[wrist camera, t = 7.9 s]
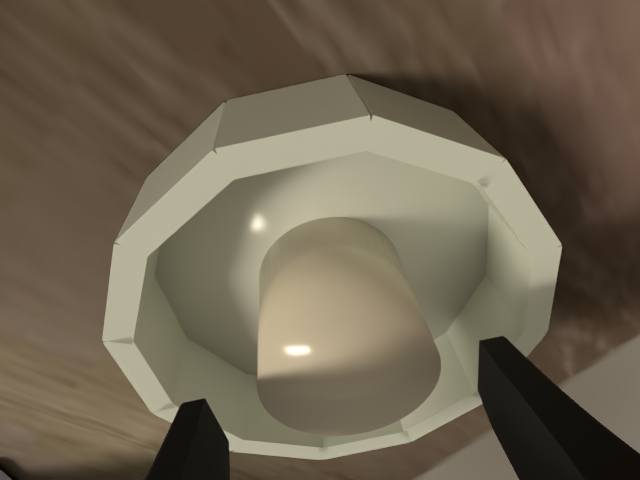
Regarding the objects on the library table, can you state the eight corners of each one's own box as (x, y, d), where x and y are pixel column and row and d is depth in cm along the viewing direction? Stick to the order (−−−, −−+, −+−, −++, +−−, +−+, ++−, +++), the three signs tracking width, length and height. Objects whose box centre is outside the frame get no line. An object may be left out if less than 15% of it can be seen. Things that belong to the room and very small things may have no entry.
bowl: (210, 405, 20) (201, 484, 17) (62, 136, 12) (0, 194, 10) (494, 347, 20) (533, 417, 17) (515, 37, 12) (592, 67, 9)
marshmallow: (276, 338, 17) (279, 448, 13) (242, 233, 14) (234, 336, 10) (403, 314, 17) (441, 418, 13) (395, 203, 14) (440, 297, 10)
